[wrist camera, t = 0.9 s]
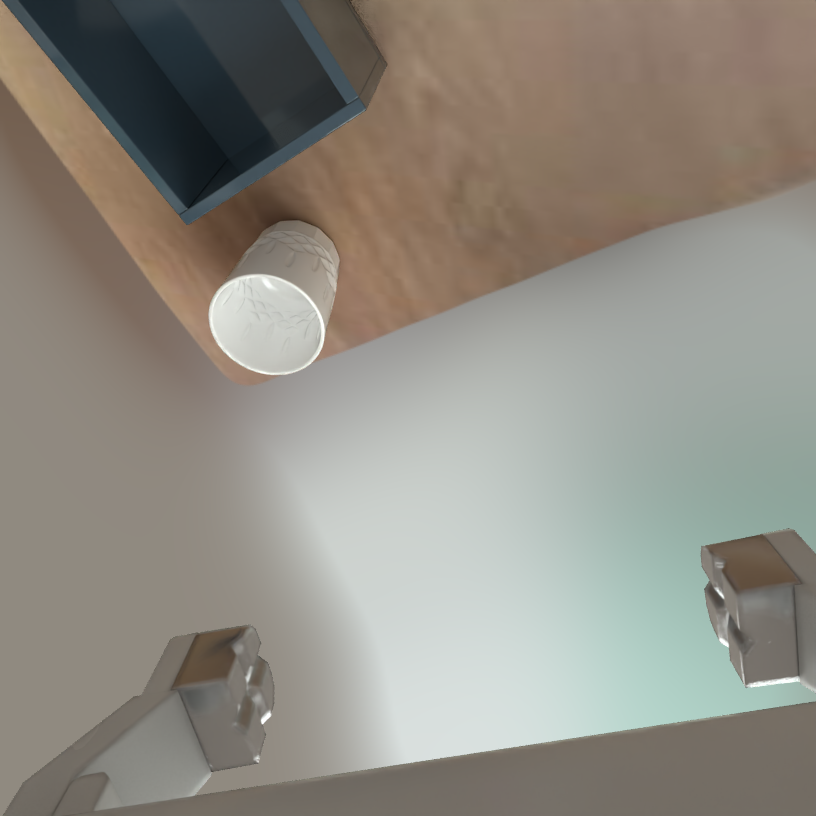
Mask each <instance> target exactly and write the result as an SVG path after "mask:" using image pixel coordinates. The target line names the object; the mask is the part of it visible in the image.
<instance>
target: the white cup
mask: <svg viewBox="0 0 816 816" xmlns="http://www.w3.org/2000/svg"><path fill="white" fill-rule="evenodd" d="M339 265H340V258H339V256H338V253H337V251H336V248H335V246H334V243H333V241H332V240H331V239H330V238H328V237H327V236H326V235H325V234H324V233H323V232H322V231H321V230H320V229H319V228H318V227H315V226H313V225H310V224H308V223H305V222H302V221H300V220H294V221H279V222H277V223H275V224H274V225H272V226H270V227H268V228H267V229H265V230H263V232H262V233H261V235H260V236H259V237H258V239H257V240H256V242H255V243H254V244H253V245H252V246H251V247H249V249H248V250H247V251H246V252H245V254H244V255H243V256H242V257H241V258H240V260H239V261H238V263H237V264H236V265H235V267H234V268H233V270H232V271H231V272H230V274H229V275H228V277H227V278H226V279H225V281H224V282H223V283H222V285H221V286H220V288H219V289H218V290H217V292H216V293H215V295H214V296H213V298H212V300H211V303H210V307H209V325H210V329H211V332H212V334H213V337H214V339H215V341H216V342H217V344H218V345H219V347H220V348H221V349H222V350H223V351H224V352H225V354H226V355H228V356H229V357H230V358H231V359H232V360H234V361H235V362H236V363H238V364H239V365H241V366H243V367H245V368H247V369H249V370H252V371H255V372H258V373H262V374H268V375H285V374H290V373H294V372H297V371H299V370H301V369H303V368H305V367H307V366H308V365H309V364H310V363H312V362H313V361H314V360H315V358H316V357H317V356H318V354H319V353H320V351H321V349H322V346H323V343H324V339H325V335H326V331H327V327H328V323H329V319H330V315H331V311H332V308H333V303H334V298H335V293H336V288H337V281H338V276H339Z"/></svg>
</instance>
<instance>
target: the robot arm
mask: <svg viewBox="0 0 816 816" xmlns="http://www.w3.org/2000/svg"><path fill="white" fill-rule="evenodd" d="M701 562H702V568H703V570H704V571H705V573H706V574H707V576H708V578H709V580H710V581H709V582H708V584H707V586H706V587H705V589H704V590H705V597H706V605H707V609H708V613H709V617H710V621H711V623H712V626H713V628H714V631H715V633H716V635H717V637H718V639H719V641H720V642H721V643H722V644H724V645H726V646H728V647H729V653H730V661H731V662H732V664H733V666H734V668H735V670H736V671H737V673H738V675H739V676H740V678H741V680H742V682H743V684H744V686H745V687H746V688H748V687H756V686H764V685H772V684H779V683H787V682H795V681H800V683H801V684H802V685H804V686H805V687H807V688H808V689H810V690H812V691H813V692H815V693H816V554H815V553H814V551H813V550H812V549H811V548H810V547H809V546H808V545H807V544H806V543H805V542H804V540H803V539H802V538H801V537H800V536H799V535H798V534H797V533H796V532H795V530H792V529H789V528H788V529H783V530H778V531H774V532H769V533H764V534H760V535H756V536H752V537H746V538H741V539H737V540H731V541H726V542H721V543H716V544H710V545H706V546H702V547H701ZM260 645H261V641H260V639H259V637H258V634H257V631H256V629H255V628H254V627H253V626H251V625H244V626H238V627H231V628H225V629H218V630H212V631H206V632H200V633H192V634H187V635H181V636H176V637H174V638H172V639H171V640H170V641H169V643H168V645H167V647H166V648H165V650H164V652H163V655H162V656H161V658H160V660H159V662H158V664H157V666H156V668H155V670H154V672H153V674H152V676H151V678H150V680H149V682H148V684H147V686H146V687H145V689H144V692H143V693H142V695H141V696H135V697H133V698H131V699H130V700H129V701H128V702H126V703H125V704H124V705H122V706H121V707H120V708H119V709H117V710H116V711H115V712H114V713H112V714H111V715H110V716H108V717H107V718H106V719H104V720H103V721H102V722H101V723H99V724H98V725H97V726H95V727H94V728H93V729H92V730H90V731H89V732H88V733H86V734H85V735H84V736H83V737H81V738H80V739H79V740H77V741H76V742H75V743H74V744H72V745H71V746H70V747H69V748H67V749H66V750H65V751H64V752H62V753H61V754H59V755H58V756H57V757H56V758H54V759H53V760H52V761H50V762H49V763H48V764H47V765H45V766H44V767H43V768H42V769H40V770H39V771H38V772H36V773H35V774H34V775H32V776H31V777H30V778H29V779H27V780H26V781H25V782H23V784H22V785H21V787H20V789H19V790H18V792H17V793H16V795H15V797H14V798H13V800H12V802H11V803H10V805H9V806H8V808H7V810H6V811H5V813H4V814H3V816H816V702H809V703H802V704H796V705H789V706H783V707H776V708H769V709H763V710H756V711H750V712H743V713H737V714H730V715H723V716H717V717H710V718H704V719H697V720H690V721H684V722H677V723H671V724H664V725H657V726H652V727H644V728H638V729H631V730H625V731H618V732H612V733H606V734H598V735H592V736H585V737H579V738H572V739H566V740H559V741H552V742H546V743H540V744H533V745H526V746H519V747H513V748H506V749H500V750H494V751H486V752H480V753H474V754H467V755H460V756H454V757H447V758H440V759H434V760H428V761H421V762H414V763H408V764H401V765H394V766H388V767H381V768H374V769H368V770H361V771H355V772H348V773H342V774H335V775H329V776H322V777H315V778H309V779H302V780H295V781H289V782H282V783H276V784H269V785H263V786H256V787H249V788H243V789H237V790H230V791H223V792H216V793H210V794H203V795H197V796H194V795H195V794H196V793H197V792H198V791H199V789H200V788H201V787H202V786H203V784H204V783H205V782H206V781H207V780H208V779H209V777H210V776H211V775H212V773H211V772H214V771H219V770H225V769H230V768H236V767H241V766H246V765H252V764H258V761H259V758H260V754H261V750H262V747H263V743H264V740H265V736H266V733H265V730H264V728H263V725H262V724H263V723H264V722H265V721H266V720H267V719H268V718H269V717H270V716H271V714H272V710H273V706H274V682H273V677H272V673H271V670H270V667H269V664H268V662H266V661H265V660H263V659H262V658H261V657H260V656H258V652H259V648H260Z"/></svg>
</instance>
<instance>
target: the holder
mask: <svg viewBox="0 0 816 816" xmlns="http://www.w3.org/2000/svg"><path fill="white" fill-rule="evenodd" d="M2 1H3V2H4V4H5V5H6V6H7V7H8V9H9V10H10V11H11V12H12V13H13V15H14V16H15V17H16V18H17V19H18V21H19V22H20V23H21V24H22V26H23V27H24V28H25V29H26V30H27V32H28V33H29V34H30V35H31V36H32V38H33V39H34V40H35V41H36V43H37V44H38V45H39V46H40V47H41V49H42V50H43V51H44V52H45V54H46V55H47V56H48V57H49V58H50V60H51V61H52V62H53V63H54V64H55V66H56V67H57V68H58V69H59V71H60V72H61V73H62V74H63V75H64V77H65V78H66V79H67V80H68V81H69V83H70V84H71V85H72V86H73V88H74V89H75V90H76V91H77V92H78V94H79V95H80V96H81V97H82V99H83V100H84V101H85V102H86V103H87V105H88V106H89V107H90V108H91V109H92V111H93V112H94V113H95V114H96V116H97V117H98V118H99V119H100V120H101V122H102V123H103V124H104V125H105V126H106V128H107V129H108V130H109V131H110V133H111V134H112V135H113V136H114V137H115V139H116V140H117V141H118V142H119V144H120V145H121V146H122V147H123V148H124V150H125V151H126V152H127V153H128V154H129V156H130V157H131V158H132V159H133V161H134V162H135V163H136V164H137V165H138V167H139V168H140V169H141V170H142V171H143V173H144V174H145V175H146V176H147V178H148V179H149V180H150V181H151V182H152V184H153V185H154V186H155V187H156V189H157V190H158V191H159V192H160V193H161V195H162V196H163V197H164V198H165V199H166V201H167V202H168V203H169V204H170V206H171V207H172V208H173V209H174V210H175V212H176V213H177V214H178V215H179V214H180V215H179V216H180V218H181V219H182V220H183V221H184V223H185V224H186V225H189V224H191V223H192V222H194V221H195V220H197V219H198V218H200V217H201V216H203V215H205V214H206V213H208V212H209V211H211V210H212V209H214V208H215V207H217V206H219V205H220V204H222V203H223V202H225V201H226V200H228V199H229V198H231V197H232V196H234V195H236V194H237V193H239V192H240V191H242V190H243V189H245V188H246V187H248V186H250V185H251V184H253V183H254V182H256V181H257V180H259V179H260V178H262V177H263V176H265V175H267V174H268V173H270V172H271V171H273V170H274V169H276V168H277V167H279V166H281V165H282V164H284V163H285V162H287V161H288V160H290V159H291V158H293V157H294V156H296V155H298V154H299V153H301V152H302V151H304V150H305V149H307V148H308V147H310V146H312V145H313V144H315V143H316V142H318V141H319V140H321V139H322V138H324V137H326V136H327V135H329V134H330V133H332V132H333V131H335V130H336V129H338V128H339V127H341V126H343V125H344V124H346V123H347V122H349V121H350V120H352V119H353V118H355V117H357V116H358V115H360V114H361V113H363V112H364V111H366V109H367V107H368V105H369V103H370V101H371V99H372V97H373V94H374V92H375V90H376V88H377V86H378V84H379V82H380V79H381V77H382V75H383V73H384V71H385V69H386V67H387V63H386V61H385V60H384V58H383V56H382V55H381V53H380V51H379V50H378V48H377V46H376V45H375V43H374V41H373V40H372V38H371V36H370V35H369V33H368V31H367V30H366V28H365V26H364V24H363V23H362V21H361V19H360V18H359V16H358V14H357V13H356V11H355V9H354V8H353V6H352V4H351V3H350V1H349V0H2Z"/></svg>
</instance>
